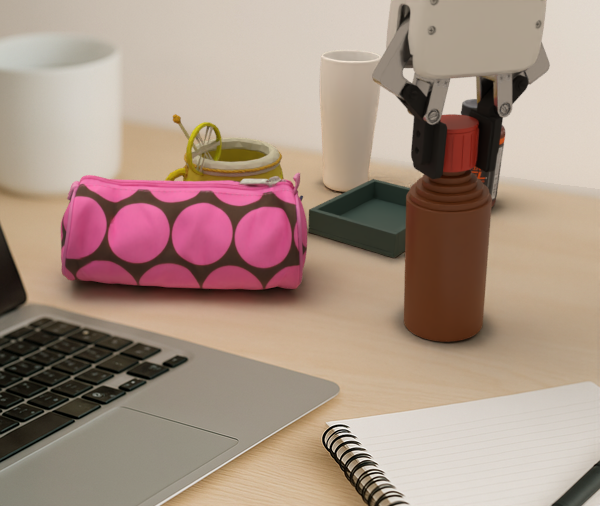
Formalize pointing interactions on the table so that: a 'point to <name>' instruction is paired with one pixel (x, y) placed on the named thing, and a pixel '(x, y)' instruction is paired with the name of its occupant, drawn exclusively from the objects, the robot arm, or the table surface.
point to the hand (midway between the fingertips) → (453, 167)
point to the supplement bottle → (493, 177)
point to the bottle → (446, 256)
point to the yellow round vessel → (226, 157)
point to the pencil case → (185, 233)
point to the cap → (460, 142)
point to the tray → (365, 217)
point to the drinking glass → (347, 116)
